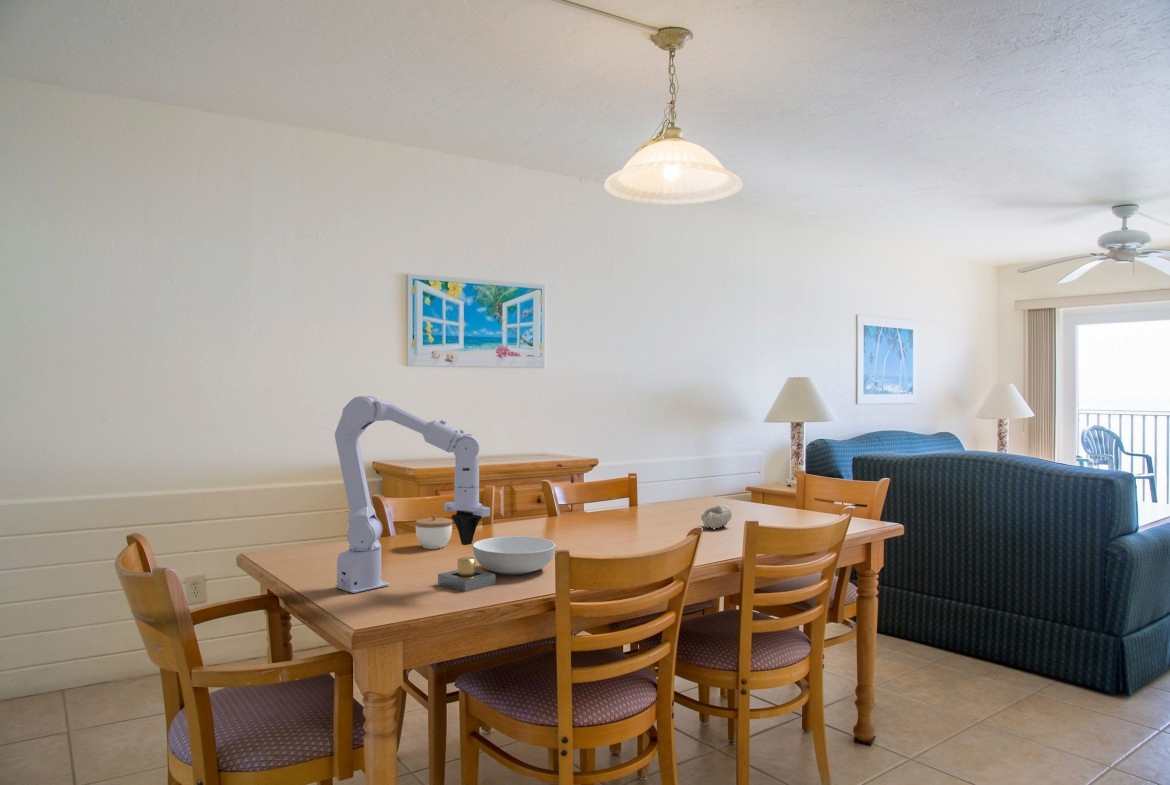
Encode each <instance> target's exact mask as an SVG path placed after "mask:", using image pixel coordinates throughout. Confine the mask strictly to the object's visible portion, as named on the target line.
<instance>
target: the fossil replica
mask: <svg viewBox="0 0 1170 785" xmlns="http://www.w3.org/2000/svg"><path fill="white" fill-rule="evenodd" d="M700 516H701V517H700V519H701V521H702V524H703V526H704V527H705V528H706V527H708V528H707V529H712V528H718V529H720V528H722V527H721V526H724V527H726V526H727V525H728V522H730V521H731V520H732V519H733V518H732V517H733V515H732V511H731V505H730V504H729V503H724V504H719V505H714V506H712V507H709V508H707V509H706V510H705V511H704V513H703V514H701V515H700ZM709 527H710V528H709Z"/></svg>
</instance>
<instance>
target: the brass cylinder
mask: <svg viewBox="0 0 1170 785" xmlns="http://www.w3.org/2000/svg"><path fill="white" fill-rule="evenodd" d="M475 569H476V558H475V557H472V556H471V557H470V556H464V557H459V558H457V570H458V577H462V578H468V577H472V576H475Z"/></svg>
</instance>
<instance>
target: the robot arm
mask: <svg viewBox="0 0 1170 785" xmlns="http://www.w3.org/2000/svg"><path fill="white" fill-rule="evenodd" d="M341 413H342V414H341V416H340V418H339V419H340V420H339V421H338V424H337V426H336V430H335V432H334V439H335V440H334V441H335V445H336V449H337V454H338V458H339V465H340V469H341V474H342V475H341V476H342V478H343V485H344V490H345V494H346V500H347V504H348V509H349V510H348V511H349V512H348V519H347V520H348V530H347V533H346V534H347V536H346V538H347V541H348V543H349V545H348V549H347V550H345V551H342V552H340V553H339V554H338V556H337V561H336V567H337V568H336V585H335V587H334V588H336V589H340V590H343V591H346V592H349V593H352V594H355V593H360V592H365V591H368V590H373V589H374V590H375V589H379V588H383V587H387V586H389V585H390V583H389V582H385V581H383V580H382V544H381V543H380V541H379V539H380V538H381V536H382V534H383V530H384V529H383V523H382V522H381V521H380V519H379V518H378V517H377V514H376V510H375V508H374V506H373V504H372V500H371V497H370V491H369V486H368V482H367V476H366V472H365V471H366V470H365V466H364V461H363V456H362V450H361V445H360V440H359V439H360V438H361V435H362V434H363V433H364V432H365V431H366V429H367V428H368V427H369V426H370V425H372V424H373V423H374V422H376V421H377V422H378V421H379V422H380V421H391V422H394V423H396V424H398V425H400V426H402V427H405V428H408V429H410V430H412V431H414V432H417V433H419V434H421V435H422V437H423V440H424V442H425V443H427V444H429V445H431V446H434V447H436V448H437V449H441V450H443V451H445V452H447V453H449V454H450V453H453V455H454V457H455V465H454V488H453V493H454V499H453V500H454V501H446V502H444V505H443V506H444V510H443V511H446V512H448V511H449V512H450V511H451V512H455V513H456V514H452V515H451V519H452V520H453V522H454V525H455V526H456V529H457V532H458V536H459V540H460V543H461V545H462V546H468V545H473V540H474V536H475V533H476V530H477V527H478V524H479V522H480V521H481V519H482V518H486V517H490V516H491V508H490V507H488V506H484V505H483V503H480V466H479V463H480V462H479V461H480V460H479V456H478V455H479V452H480V450H481V449H480V442H479V440H478V439H477V438H476V437H475V436H473V435H472V434H471V433H465V430H464V429H460V430H458V429H457V428H454V427H452V426H450V425H448V424H447V420H444V419H440V420H438V419H433V420H432V421H427V420H425V419H423V418H421V417H419V416H417V415H415V414H413V413H411V412H410V411H408V410H406V409H404V408H401V407H400V406H397V405H396V404H393V403H391V402H389V401H386V400H382V399H377V398H376V397H374V396H361V395H360V396H355V397H353V398H352V399H351V400H350V401H349V402H348V403H347V404H346V405H345V406H344V407H343V408H342V412H341Z"/></svg>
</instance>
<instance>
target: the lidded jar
mask: <svg viewBox="0 0 1170 785" xmlns="http://www.w3.org/2000/svg"><path fill="white" fill-rule="evenodd" d="M453 522H454V520H453V519H452V518H447V517H437V515H436V514H432V515H431V517H425V518H421V519H417V520H415V522H414V524H415V536H416V539H417V541H418V542H419V544H420V545H421V546H422V547H423V549H425V548H426V550H438V548H440V549H443V548H442V547H444V546H445V547H446V545H447V544H448V543H449V541H450V539H451V538H452V534H453V533H452V532H453ZM445 547H444V548H445Z"/></svg>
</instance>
